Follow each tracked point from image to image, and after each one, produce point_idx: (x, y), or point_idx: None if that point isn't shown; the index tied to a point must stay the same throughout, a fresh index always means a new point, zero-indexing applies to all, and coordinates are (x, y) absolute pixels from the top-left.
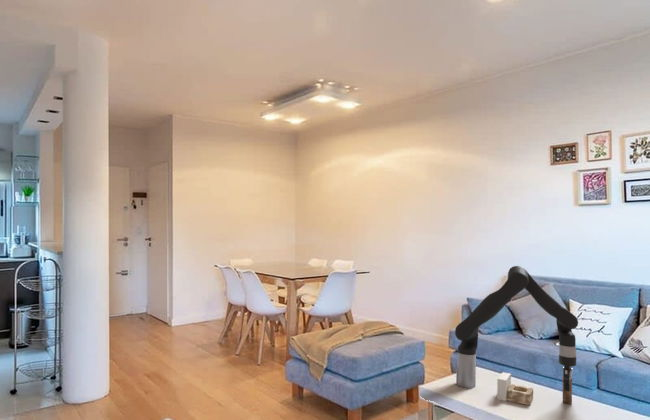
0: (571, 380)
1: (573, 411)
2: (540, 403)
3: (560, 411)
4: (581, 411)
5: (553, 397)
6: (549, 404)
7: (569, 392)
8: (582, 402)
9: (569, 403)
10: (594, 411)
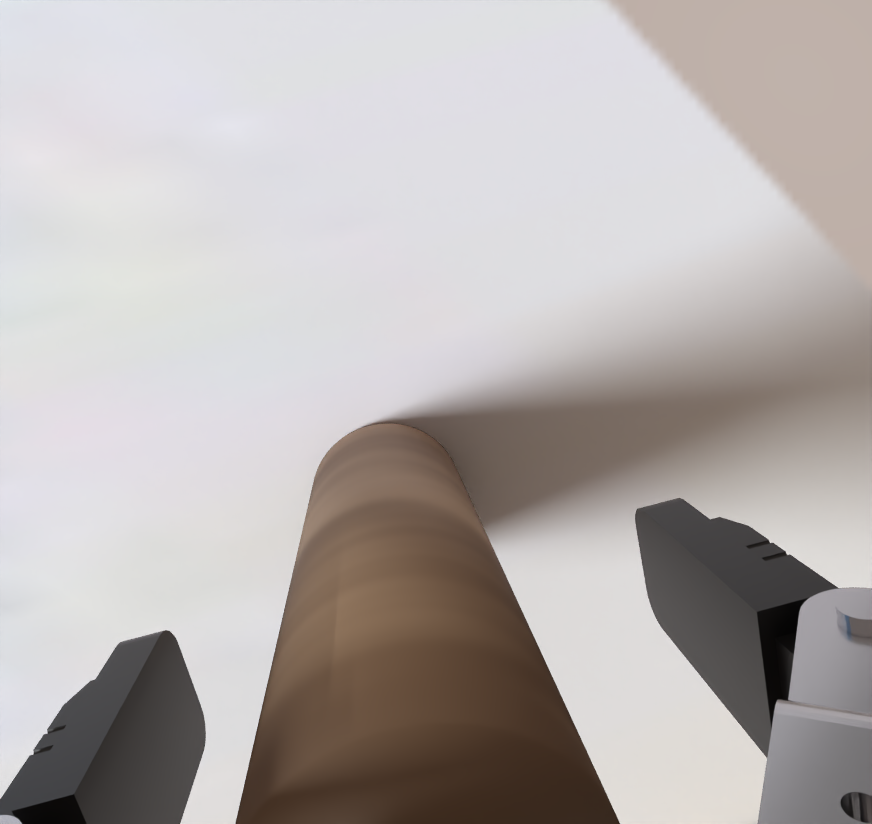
0: (449, 673)
1: (701, 290)
2: (725, 737)
3: (842, 432)
4: (602, 192)
5: None
6: (670, 644)
7: (473, 518)
8: (118, 319)
9: (438, 446)
10: (420, 10)
